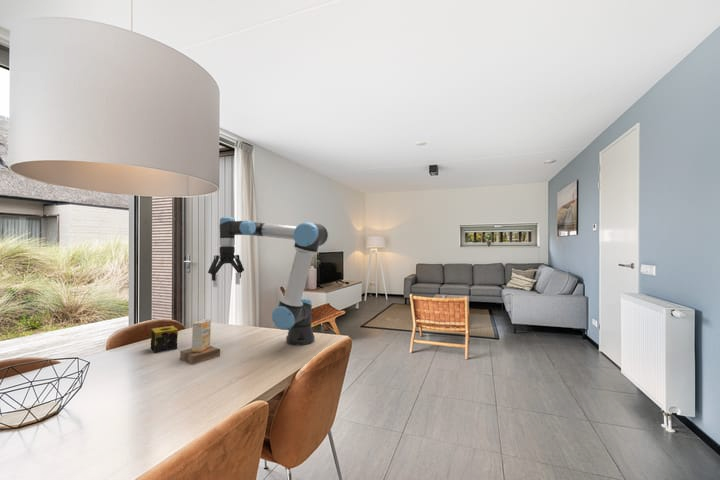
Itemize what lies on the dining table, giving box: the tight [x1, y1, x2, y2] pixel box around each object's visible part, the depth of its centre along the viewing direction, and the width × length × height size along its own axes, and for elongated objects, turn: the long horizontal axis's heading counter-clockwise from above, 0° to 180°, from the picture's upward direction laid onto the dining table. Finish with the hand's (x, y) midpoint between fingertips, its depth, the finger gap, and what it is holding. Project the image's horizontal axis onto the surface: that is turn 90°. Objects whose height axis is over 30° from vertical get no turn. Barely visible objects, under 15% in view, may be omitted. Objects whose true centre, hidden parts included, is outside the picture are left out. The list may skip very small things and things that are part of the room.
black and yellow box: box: [150, 325, 179, 354], centre depth 155 cm, size 10×10×10 cm
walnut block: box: [179, 345, 221, 365], centre depth 143 cm, size 12×12×4 cm
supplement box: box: [191, 318, 212, 352], centre depth 144 cm, size 8×5×13 cm, turn 0°
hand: (226, 285), depth 167 cm, fingers open, 13 cm apart
